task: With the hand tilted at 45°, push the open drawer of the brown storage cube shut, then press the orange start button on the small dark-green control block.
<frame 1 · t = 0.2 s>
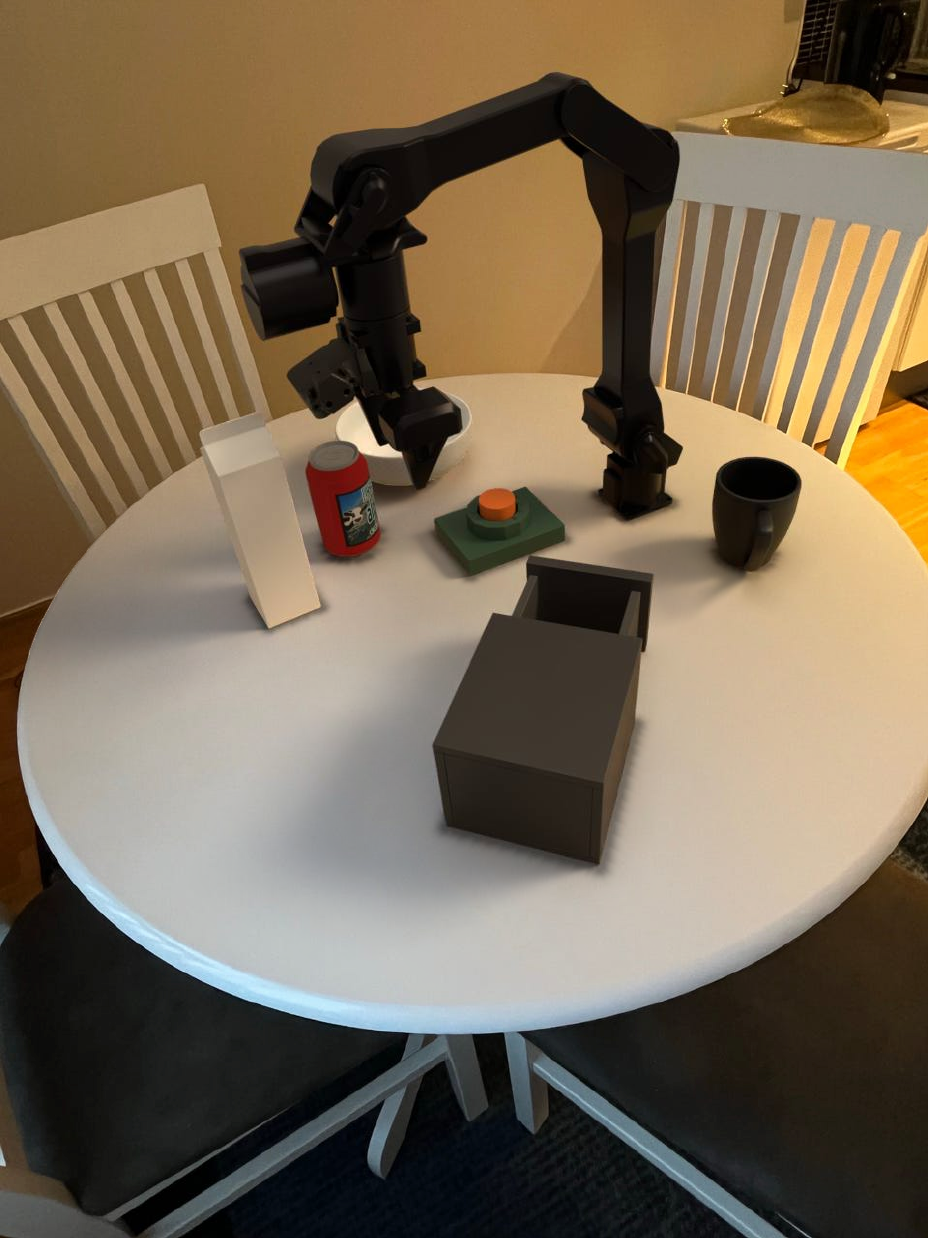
hand: (401, 465, 81), 15 cm above the table, tool pointing down, fingers open, 9 cm apart
drawer: (577, 633, 75), point 5 cm above the table, slide at 8.0 cm
beverage can: (353, 544, 96), on the table
milk: (285, 604, 90), on the table
start button: (497, 504, 92), point 4 cm above the table, slide at 0.1 cm
brown storage cube: (544, 772, 71), on the table
cereal bowl: (410, 469, 107), on the table
control block: (499, 537, 95), on the table
mug: (745, 565, 88), on the table
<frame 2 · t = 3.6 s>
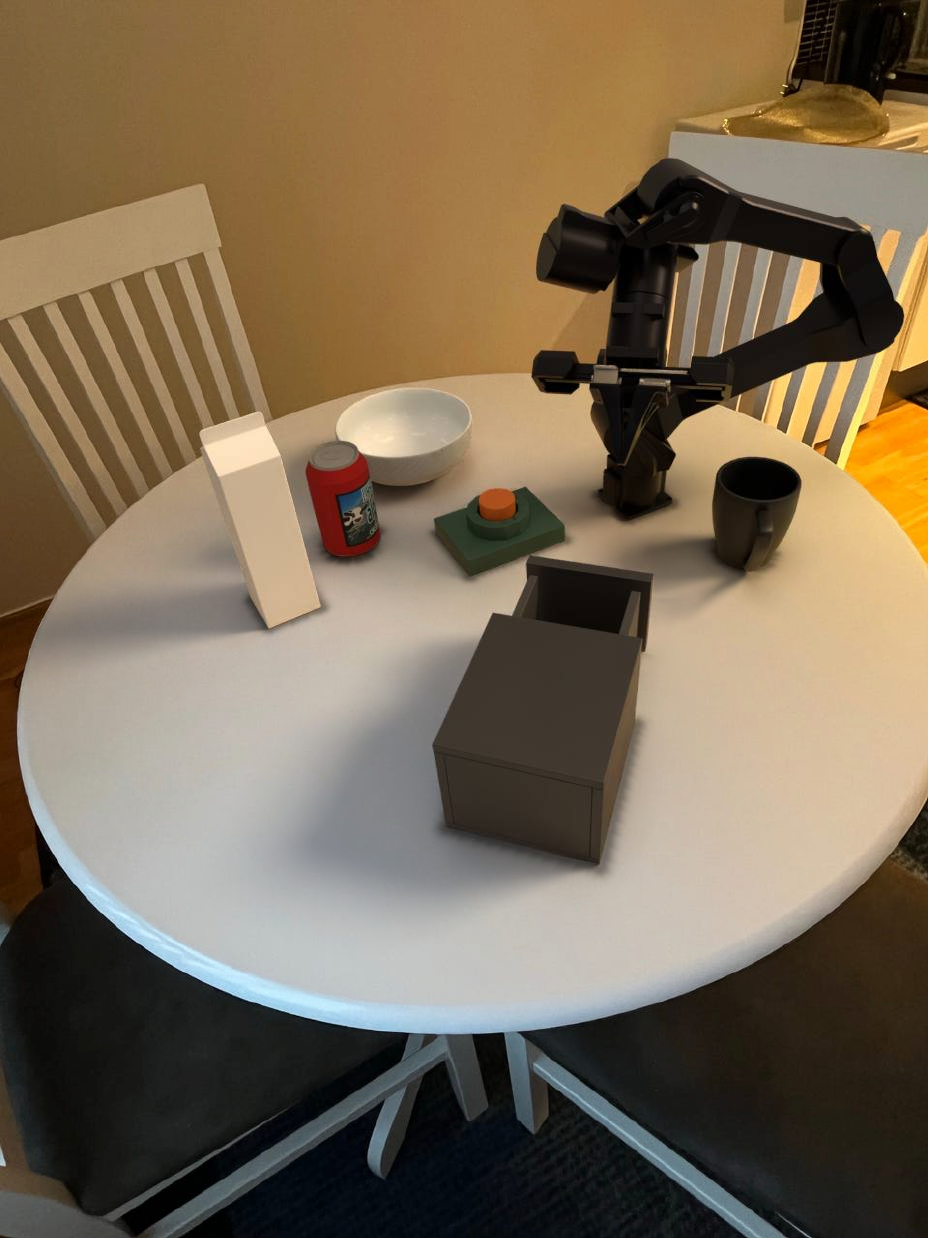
hand: (620, 464, 81), 13 cm above the table, tool tilted 45°, fingers closed
nothing on the table moved.
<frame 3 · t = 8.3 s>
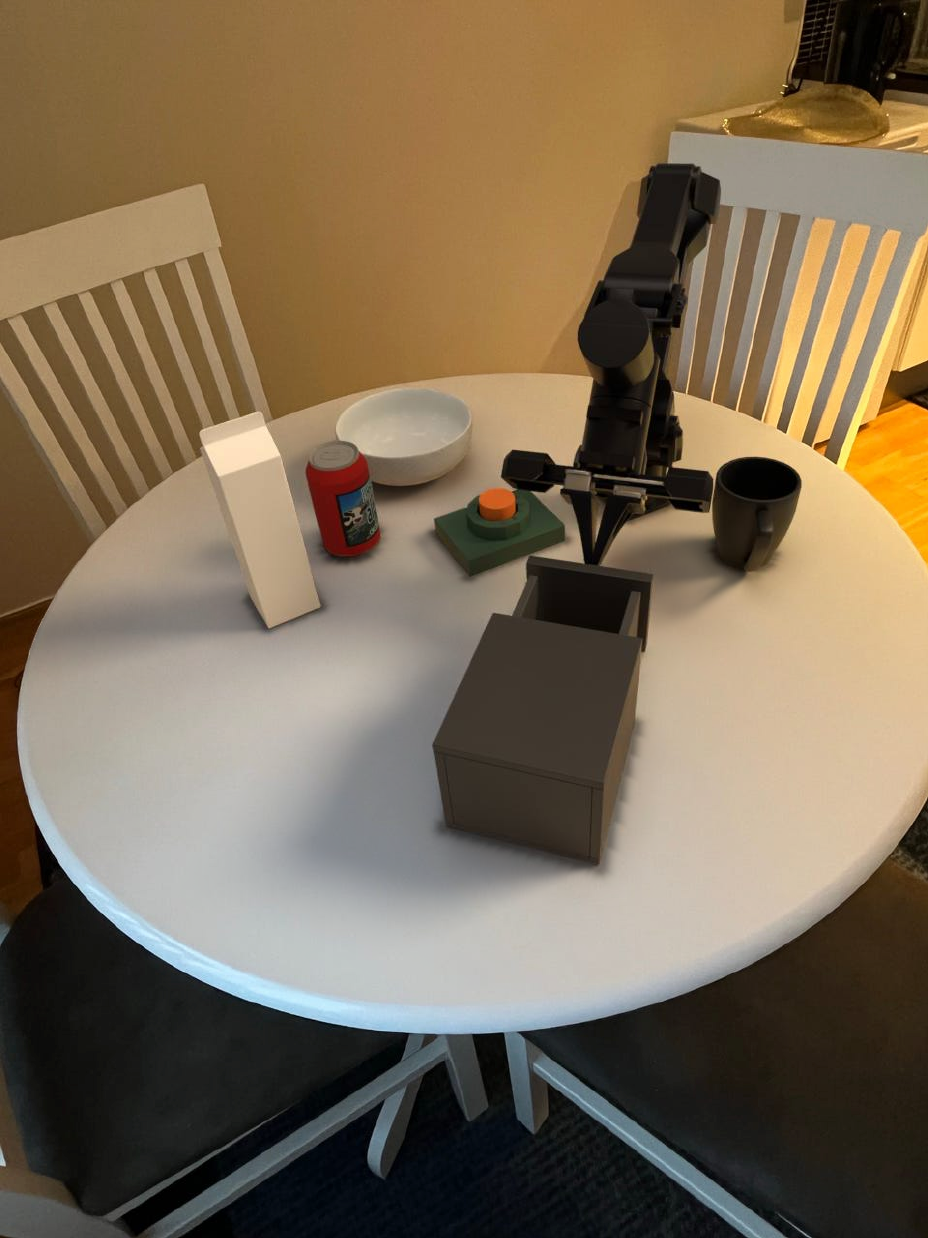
hand: (590, 573, 76), 8 cm above the table, tool tilted 45°, fingers closed, pressing on drawer
drawer: (577, 634, 75), point 5 cm above the table, slide at 8.0 cm, touching gripper
everything else where it was.
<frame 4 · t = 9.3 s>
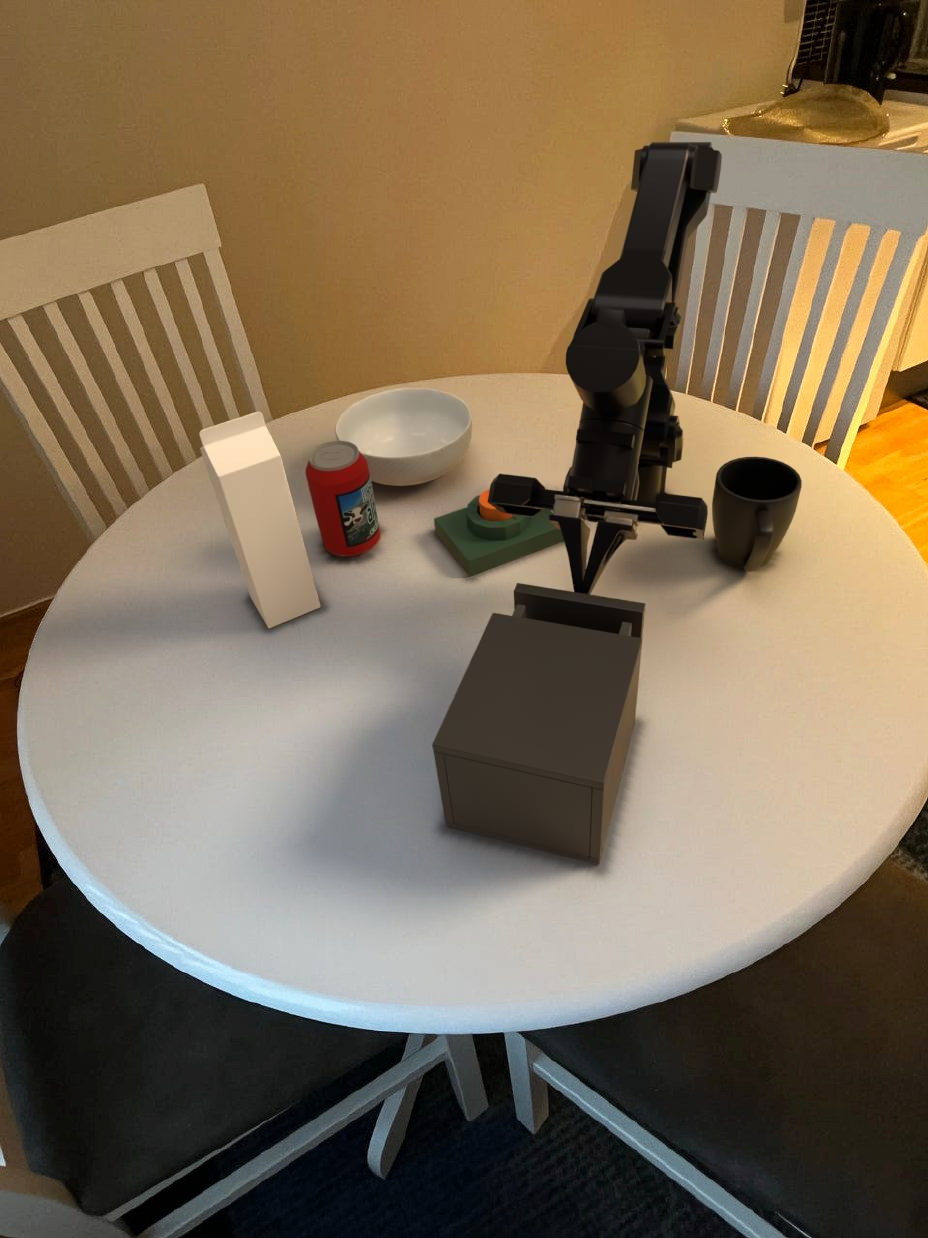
hand: (580, 602, 74), 8 cm above the table, tool tilted 45°, fingers closed, pressing on drawer
drawer: (566, 665, 72), point 5 cm above the table, slide at 4.0 cm, touching gripper
everything else where it was.
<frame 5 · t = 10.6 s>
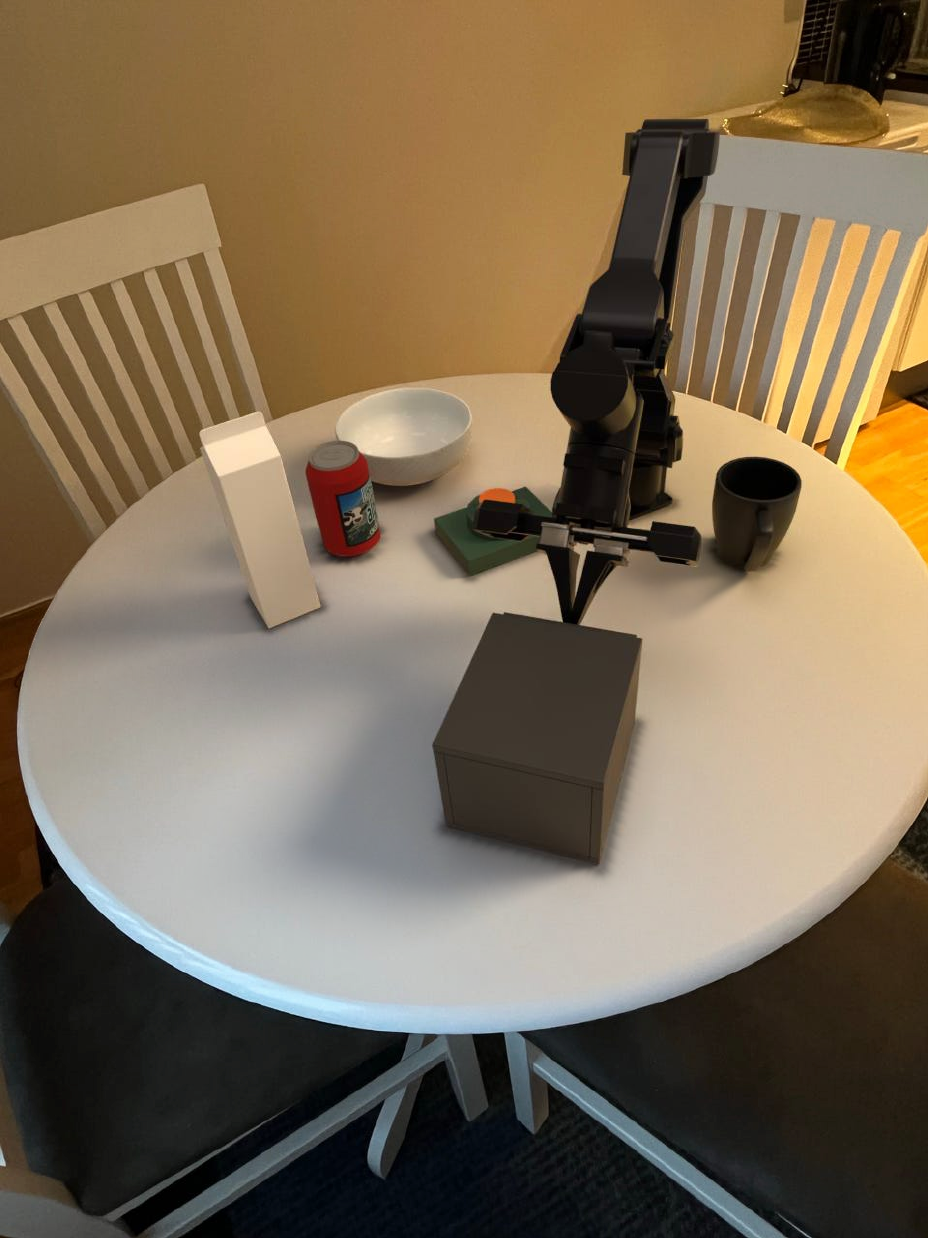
hand: (569, 633, 71), 8 cm above the table, tool tilted 45°, fingers closed, pressing on drawer
drawer: (555, 698, 70), point 5 cm above the table, slide at 0.0 cm, touching brown storage cube, gripper
everything else where it was.
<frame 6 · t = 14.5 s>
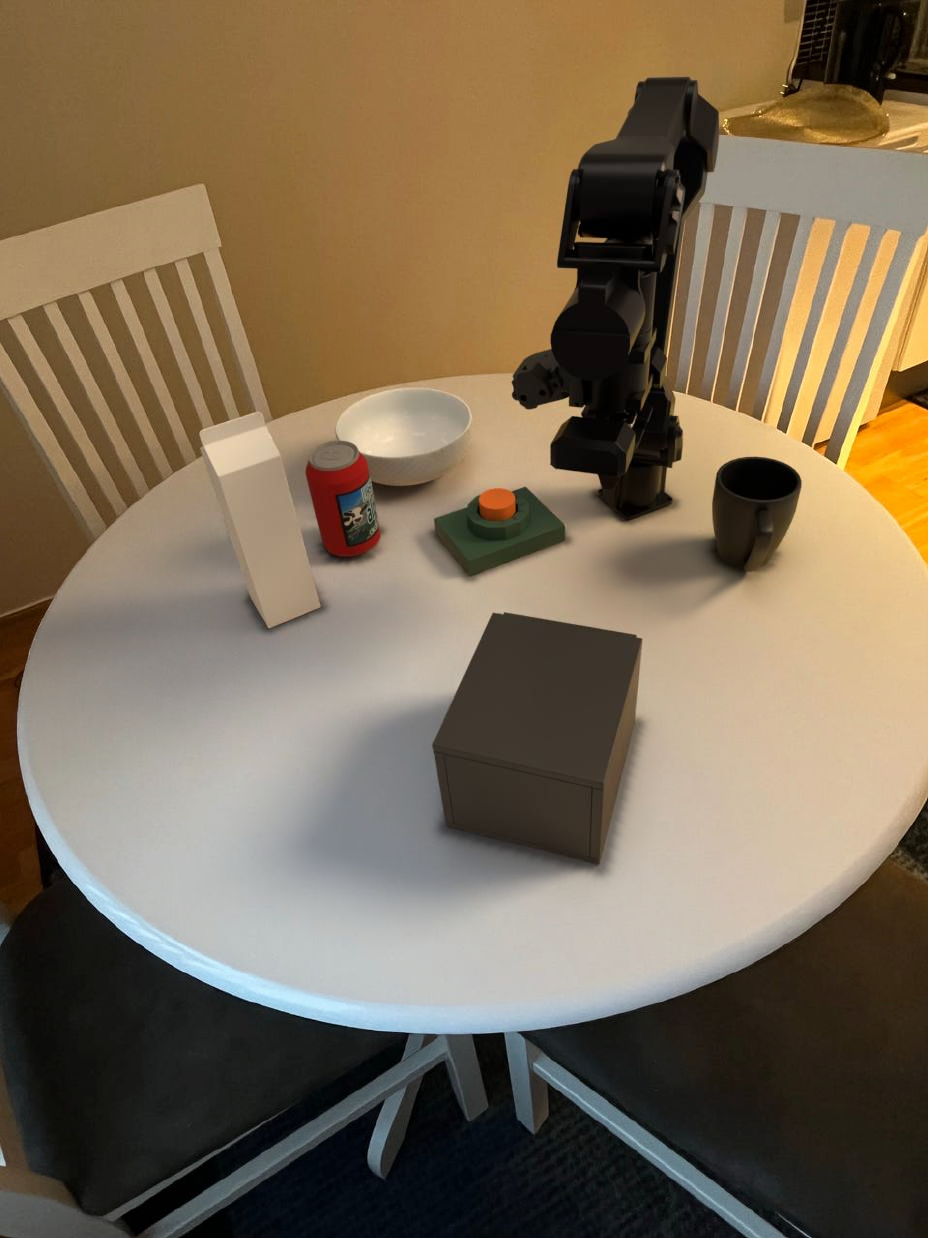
hand: (608, 488, 78), 13 cm above the table, tool pointing down, fingers closed
drawer: (555, 698, 70), point 5 cm above the table, slide at 0.0 cm, touching brown storage cube
everything else where it was.
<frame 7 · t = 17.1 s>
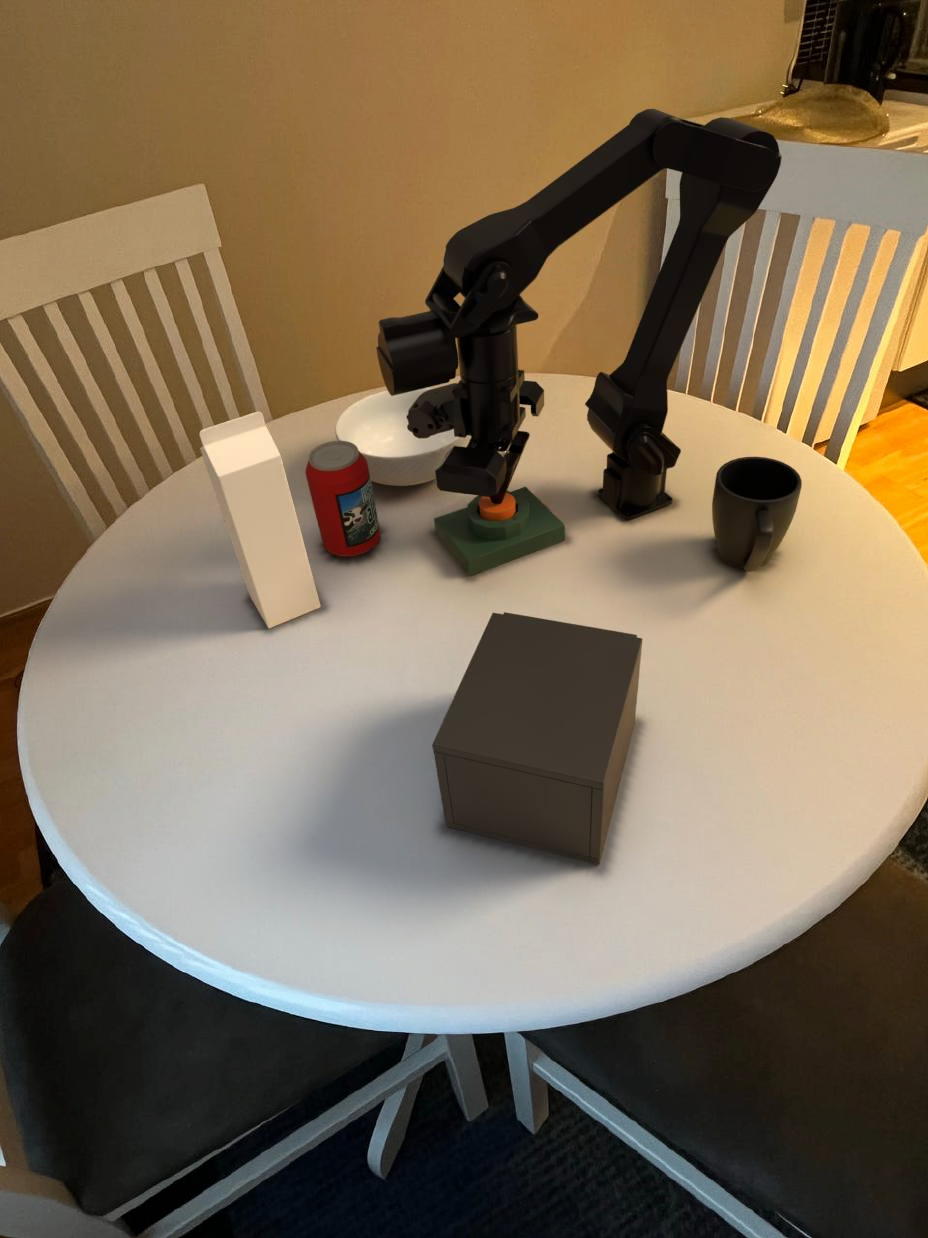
hand: (497, 501, 92), 5 cm above the table, tool pointing down, fingers closed, pressing on start button
start button: (497, 508, 92), point 4 cm above the table, slide at -0.4 cm, touching gripper
everything else where it was.
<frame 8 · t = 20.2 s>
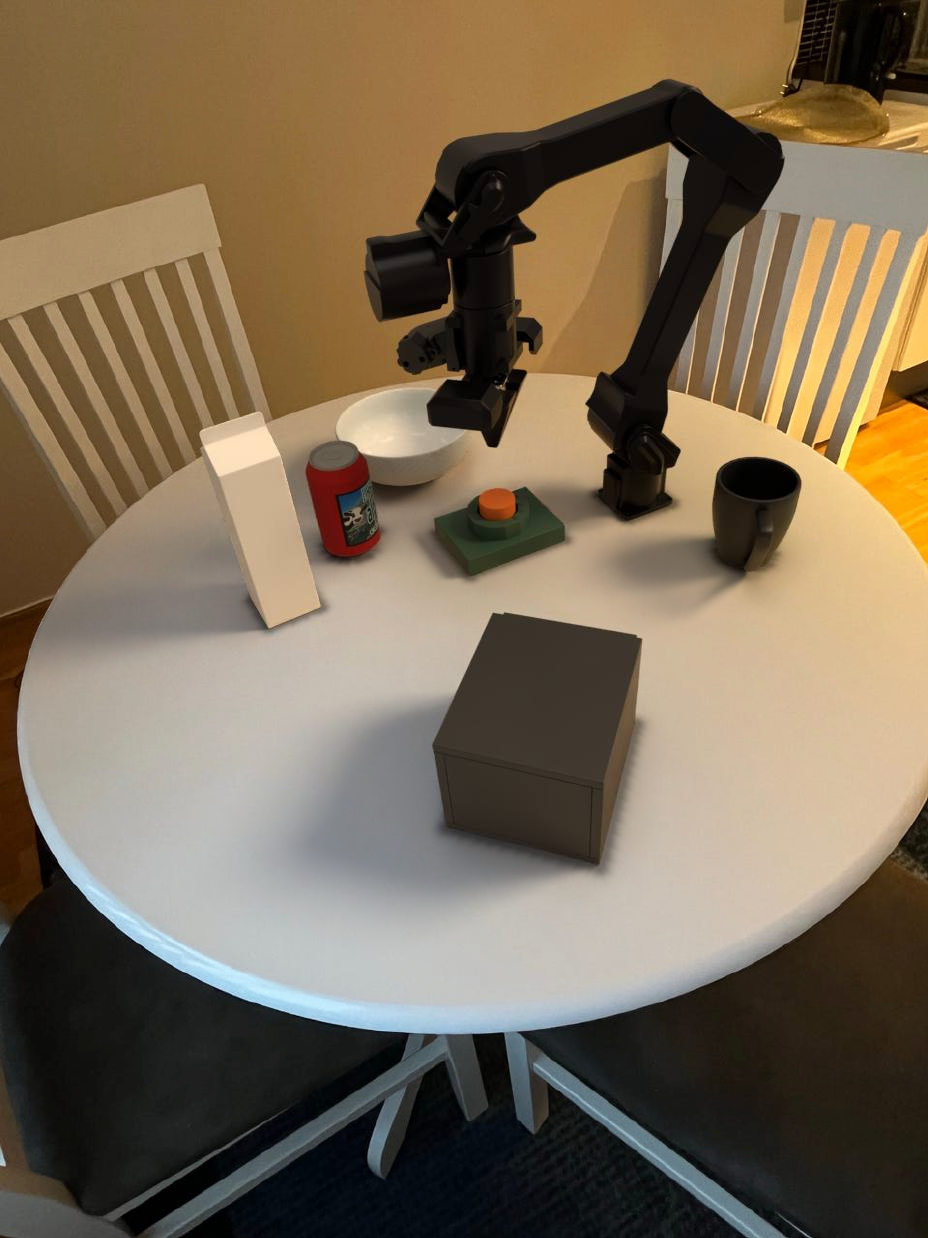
hand: (493, 445, 87), 12 cm above the table, tool pointing down, fingers closed
start button: (497, 504, 92), point 4 cm above the table, slide at 0.1 cm
everything else where it was.
at the end: drawer slide at 0.0 cm; start button pushed in 1.1 cm at the most during the clip, back to where it started at the end; start button slide at 0.1 cm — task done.
